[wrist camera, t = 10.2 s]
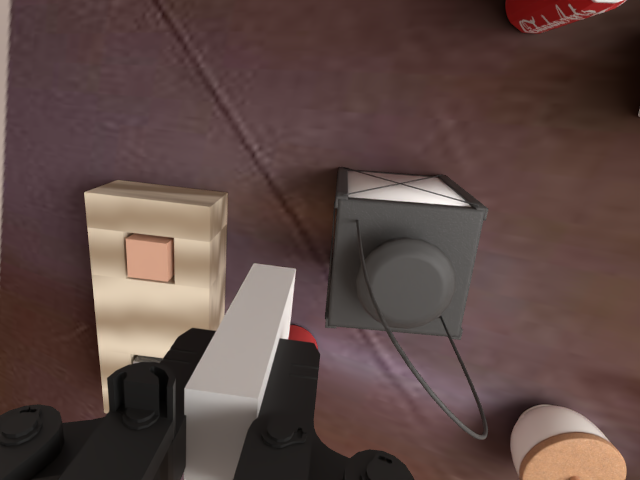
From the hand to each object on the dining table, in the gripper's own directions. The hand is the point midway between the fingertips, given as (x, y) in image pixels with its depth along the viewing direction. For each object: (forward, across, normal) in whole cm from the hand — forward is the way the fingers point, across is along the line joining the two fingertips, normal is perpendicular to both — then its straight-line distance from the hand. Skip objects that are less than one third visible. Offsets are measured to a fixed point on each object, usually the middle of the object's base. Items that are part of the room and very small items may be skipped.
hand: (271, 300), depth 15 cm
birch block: (+29, -15, -17) cm, 37 cm away
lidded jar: (+30, +31, -28) cm, 51 cm away
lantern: (+30, +8, -5) cm, 31 cm away
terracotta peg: (+29, -15, -10) cm, 34 cm away
